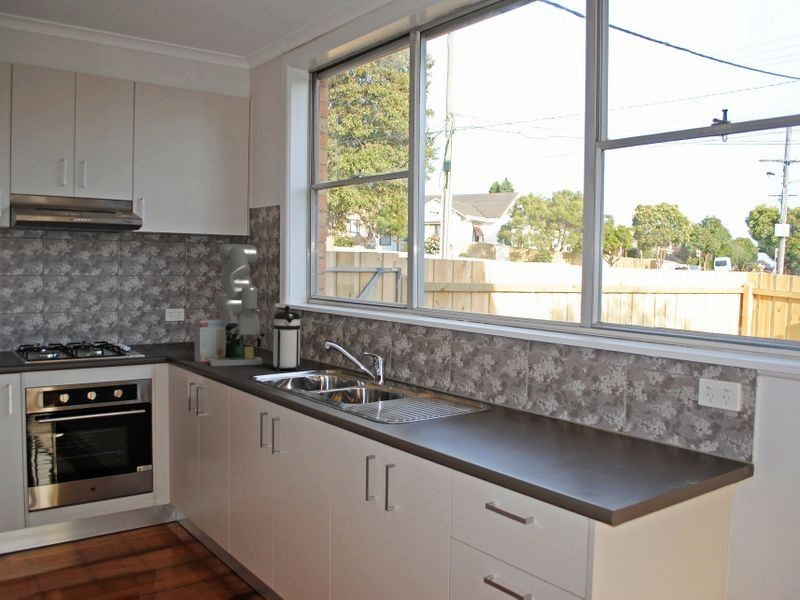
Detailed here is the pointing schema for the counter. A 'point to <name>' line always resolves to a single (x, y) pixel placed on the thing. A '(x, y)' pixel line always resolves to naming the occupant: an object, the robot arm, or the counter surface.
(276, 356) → the coffee press
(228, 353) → the coffee jar
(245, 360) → the rail
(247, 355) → the brass post
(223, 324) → the cracker box
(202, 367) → the counter surface
